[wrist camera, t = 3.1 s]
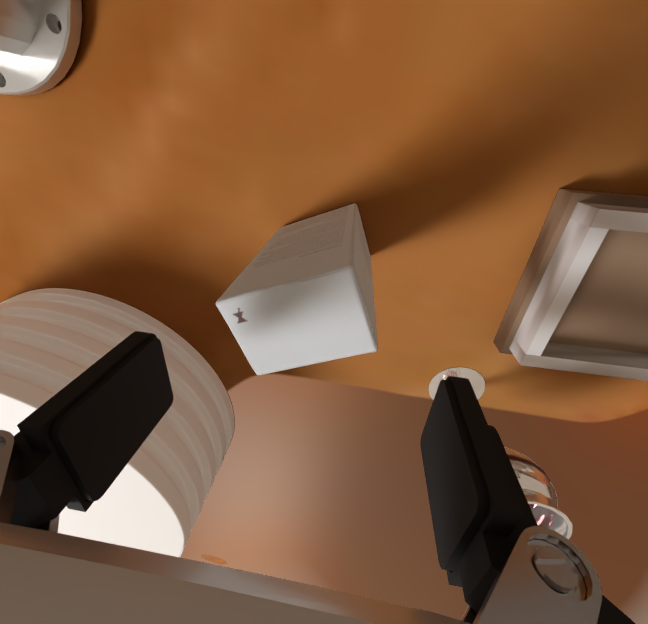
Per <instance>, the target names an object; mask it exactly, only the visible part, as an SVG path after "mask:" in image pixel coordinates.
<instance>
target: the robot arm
mask: <svg viewBox="0 0 648 624" xmlns="http://www.w3.org/2000/svg"><path fill="white" fill-rule="evenodd" d="M81 26H82V3H81V0H0V94H6V95H16V96H28V95H37V94H40V93H42V92H45V91H47V90H49V89H51V88H53V87H54V86H55V85H56V84H57V83H59V82H60V81H61V80H62V79H63V78H64V77H65V75H66V74H67V72H68V70H69V69H70V67H71V66H72V64H73V62H74V59H75V56H76V53H77V49H78V46H79V43H80V34H81ZM173 398H174V397H173V392H172V387H171V383H170V379H169V375H168V370H167V366H166V362H165V357H164V353H163V349H162V344H161V341H160V340H159V339H158V338H157V336H156V335H155V334H153V333H147V332H140V331H135V332H133V333H132V334H130V335H129V336H128V337H127V338H125V339H124V340H123V341H122V342H120V343H119V344H118V345H117V346H115V347H114V348H113V349H112V350H110V351H109V352H108V353H107V354H105V355H104V356H103V357H102V358H100V359H99V360H98V361H97V362H95V363H94V364H93V365H92V366H90V367H89V368H88V369H87V370H85V371H84V372H83V373H82V374H80V375H79V376H78V377H77V378H75V379H74V380H73V381H72V382H70V383H69V384H68V385H67V386H65V387H64V388H63V389H62V390H60V391H59V392H58V393H57V394H55V395H54V396H53V397H51V398H50V399H49V400H48V401H46V402H45V403H44V404H43V405H41V406H40V407H39V408H38V409H36V410H35V411H34V412H33V413H31V414H30V415H29V416H28V417H26V418H25V419H24V420H23V421H21V422H20V423H19V424H18V425H17V427H18V428H19V430H20V432H18V433H17V434H16V435H15V436H13V435H12V434H11V432H8V431H5V430H0V624H635V623H634V622H633V621H632V620H631V619H630V618H628V617H627V616H626V615H625V614H624V613H623V612H621V611H620V610H619V609H618V608H617V607H616V606H614V605H613V604H612V603H611V602H610V601H609V600H607V598H605V597H604V596H603V595H602V587H601V583H600V581H599V577H598V575H597V573H596V571H595V570H594V568H593V566H592V564H591V563H590V561H589V560H588V559H587V558H586V557H585V555H584V554H583V553H582V552H581V550H580V549H579V548H578V547H576V546H575V545H574V544H573V543H572V542H571V541H570V540H569V539H567V538H566V537H564V536H563V535H561V534H559V533H558V532H556V531H554V530H551V529H549V528H546V527H541V526H538V525H537V522H536V520H535V518H534V515H533V513H532V511H531V508H530V506H529V504H528V501H527V499H526V497H525V494H524V492H523V490H522V487H521V485H520V483H519V481H518V478H517V476H516V474H515V471H514V469H513V467H512V464H511V462H510V460H509V457H508V455H507V453H506V450H505V448H504V446H503V444H502V441H501V439H500V436H499V434H498V433H497V430H496V429H495V428H494V427H493V426H490V425H488V424H487V422H486V420H485V417H484V415H483V412H482V410H481V407H480V405H479V402H478V400H477V397H476V395H475V392H474V390H473V387H472V385H471V383H470V381H469V379H467V378H461V377H454V376H448V377H447V379H446V380H443V379H442V380H441V381H440V383H439V386H438V389H437V392H436V395H435V397H434V400H433V404H432V407H431V409H430V412H429V415H428V418H427V421H426V424H425V427H424V430H423V433H422V436H421V452H422V459H423V465H424V471H425V477H426V484H427V490H428V496H429V503H430V509H431V515H432V522H433V528H434V534H435V541H436V547H437V553H438V560H439V564H440V567H441V568H442V569H444V570H447V575H448V581H449V584H450V585H454V586H459V587H463V592H464V597H465V601H466V602H467V603H468V605H469V606H468V608H467V610H466V612H465V614H464V616H463V618H462V620H461V621H460V620H457V619H454V618H450V617H447V616H443V615H440V614H437V613H433V612H430V611H425V610H421V609H417V608H412V607H408V606H404V605H400V604H395V603H391V602H387V601H382V600H378V599H374V598H370V597H365V596H361V595H356V594H351V593H347V592H342V591H337V590H332V589H328V588H323V587H319V586H314V585H309V584H304V583H299V582H294V581H290V580H286V579H281V578H276V577H271V576H267V575H262V574H257V573H252V572H247V571H243V570H238V569H233V568H228V567H223V566H218V565H214V564H209V563H204V562H199V561H194V560H189V559H185V558H180V557H175V556H170V555H165V554H160V553H156V552H151V551H146V550H141V549H136V548H131V547H126V546H121V545H116V544H111V543H106V542H101V541H96V540H91V539H86V538H81V537H76V536H71V535H66V534H61V533H58V525H59V514H60V513H61V512H62V510H63V509H64V508H65V507H66V506H67V508H68V509H72V510H77V511H82V512H86V511H87V510H88V509H89V507H90V506H91V505H92V503H93V502H94V501H97V500H99V499H100V498H101V497H102V496H103V495H104V494H105V492H106V491H107V490H108V488H109V487H110V486H111V484H112V483H113V482H114V480H115V479H116V478H117V477H118V475H119V474H120V473H121V471H122V470H123V469H124V467H125V466H126V465H127V463H128V462H129V461H130V459H131V458H132V457H133V455H134V454H135V453H136V452H137V450H138V449H139V448H140V446H141V445H142V444H143V442H144V441H145V440H146V438H147V437H148V436H149V434H150V433H151V432H152V431H153V429H154V428H155V427H156V425H157V424H158V423H159V421H160V420H161V419H162V417H163V416H164V415H165V413H166V412H167V411H168V409H169V408H170V407H171V405H172V403H173Z"/></svg>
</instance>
